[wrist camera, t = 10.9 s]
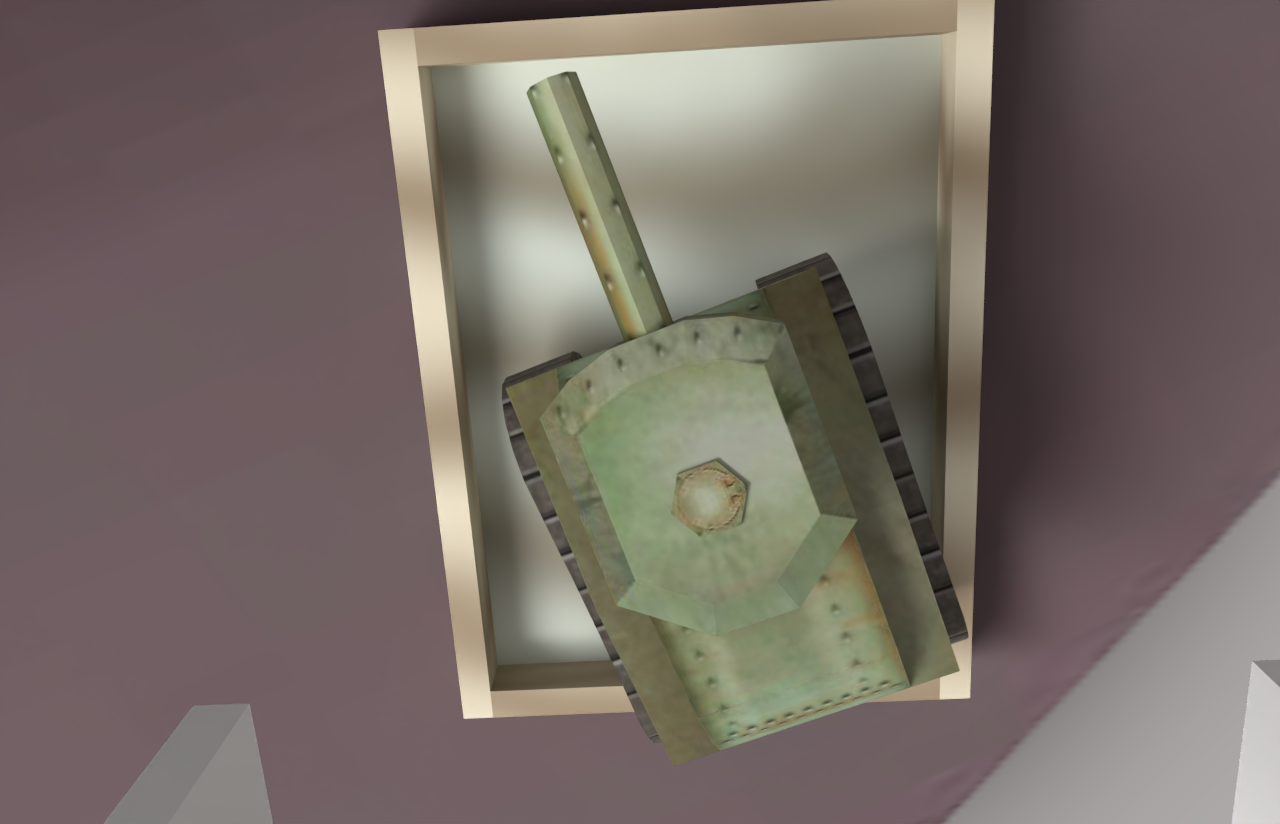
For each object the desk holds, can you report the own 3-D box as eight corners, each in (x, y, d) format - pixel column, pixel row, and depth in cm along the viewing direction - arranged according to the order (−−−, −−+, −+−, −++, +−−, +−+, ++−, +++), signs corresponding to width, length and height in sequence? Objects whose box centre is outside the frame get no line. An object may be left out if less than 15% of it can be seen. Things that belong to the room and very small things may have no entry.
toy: (748, 65, 32) (760, -22, 22) (951, 614, 34) (1046, 763, 24) (451, 190, 33) (334, 161, 23) (663, 711, 35) (640, 891, 25)
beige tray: (399, 35, 31) (377, 30, 29) (969, -3, 31) (994, -11, 28) (476, 679, 38) (464, 718, 35) (950, 659, 37) (969, 698, 35)
